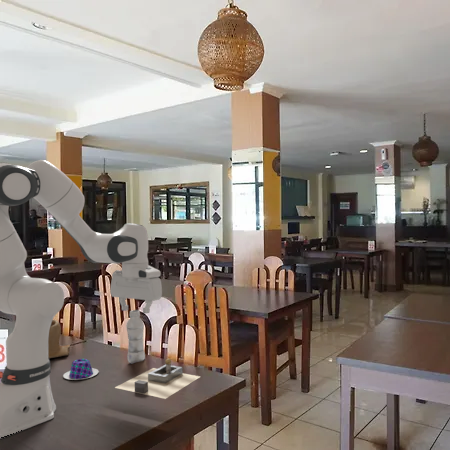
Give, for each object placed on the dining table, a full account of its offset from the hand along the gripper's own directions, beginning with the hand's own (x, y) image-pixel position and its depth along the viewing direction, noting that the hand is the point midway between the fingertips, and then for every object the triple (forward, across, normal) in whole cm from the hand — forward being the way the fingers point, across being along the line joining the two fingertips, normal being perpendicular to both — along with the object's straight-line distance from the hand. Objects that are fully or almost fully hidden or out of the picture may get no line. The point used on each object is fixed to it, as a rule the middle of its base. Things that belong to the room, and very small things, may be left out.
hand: (135, 311), depth 151 cm
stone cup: (+24, -48, +4) cm, 53 cm away
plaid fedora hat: (+24, -21, -4) cm, 33 cm away
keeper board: (+23, +11, -1) cm, 26 cm away
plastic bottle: (+23, -12, +14) cm, 29 cm away
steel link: (+22, +10, +4) cm, 24 cm away
